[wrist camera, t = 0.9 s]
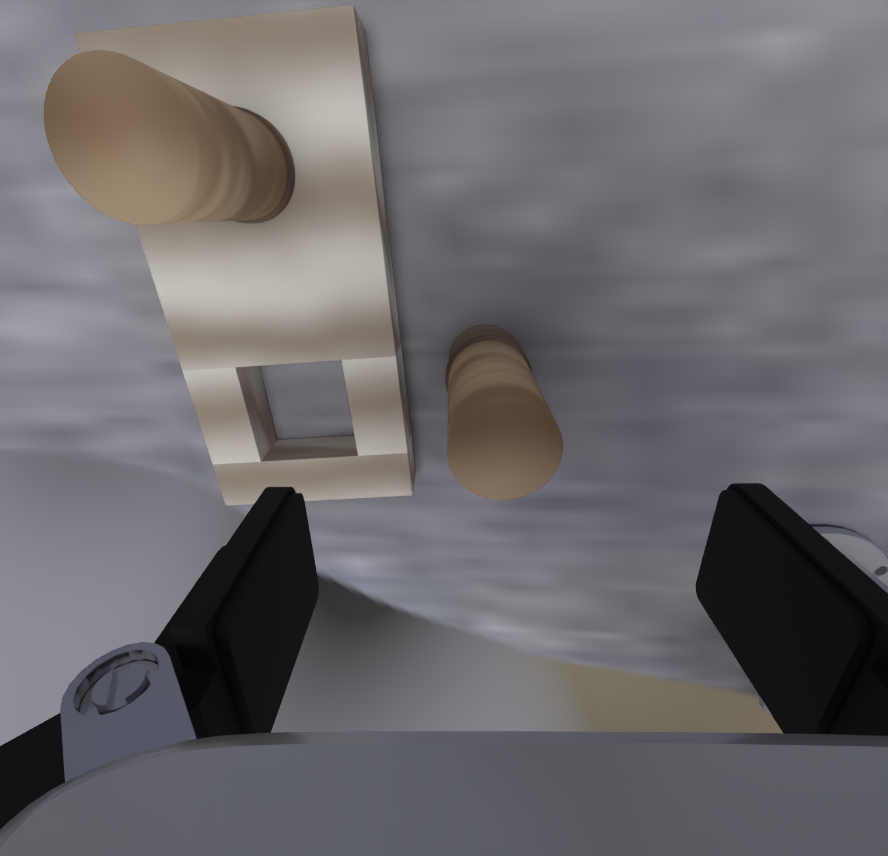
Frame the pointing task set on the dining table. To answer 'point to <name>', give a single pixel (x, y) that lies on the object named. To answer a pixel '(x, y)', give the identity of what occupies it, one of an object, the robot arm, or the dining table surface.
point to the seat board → (252, 227)
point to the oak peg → (498, 418)
